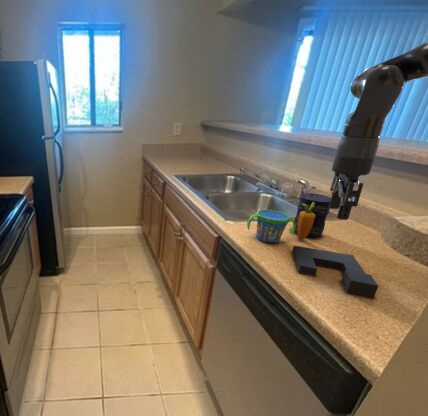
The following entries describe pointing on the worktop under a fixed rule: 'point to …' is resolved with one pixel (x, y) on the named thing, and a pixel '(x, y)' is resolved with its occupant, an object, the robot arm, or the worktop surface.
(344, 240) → the worktop surface
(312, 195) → the dark blue oil drum
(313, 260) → the base pad
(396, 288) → the worktop surface
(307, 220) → the carrot
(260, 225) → the snack cup
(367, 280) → the small block
